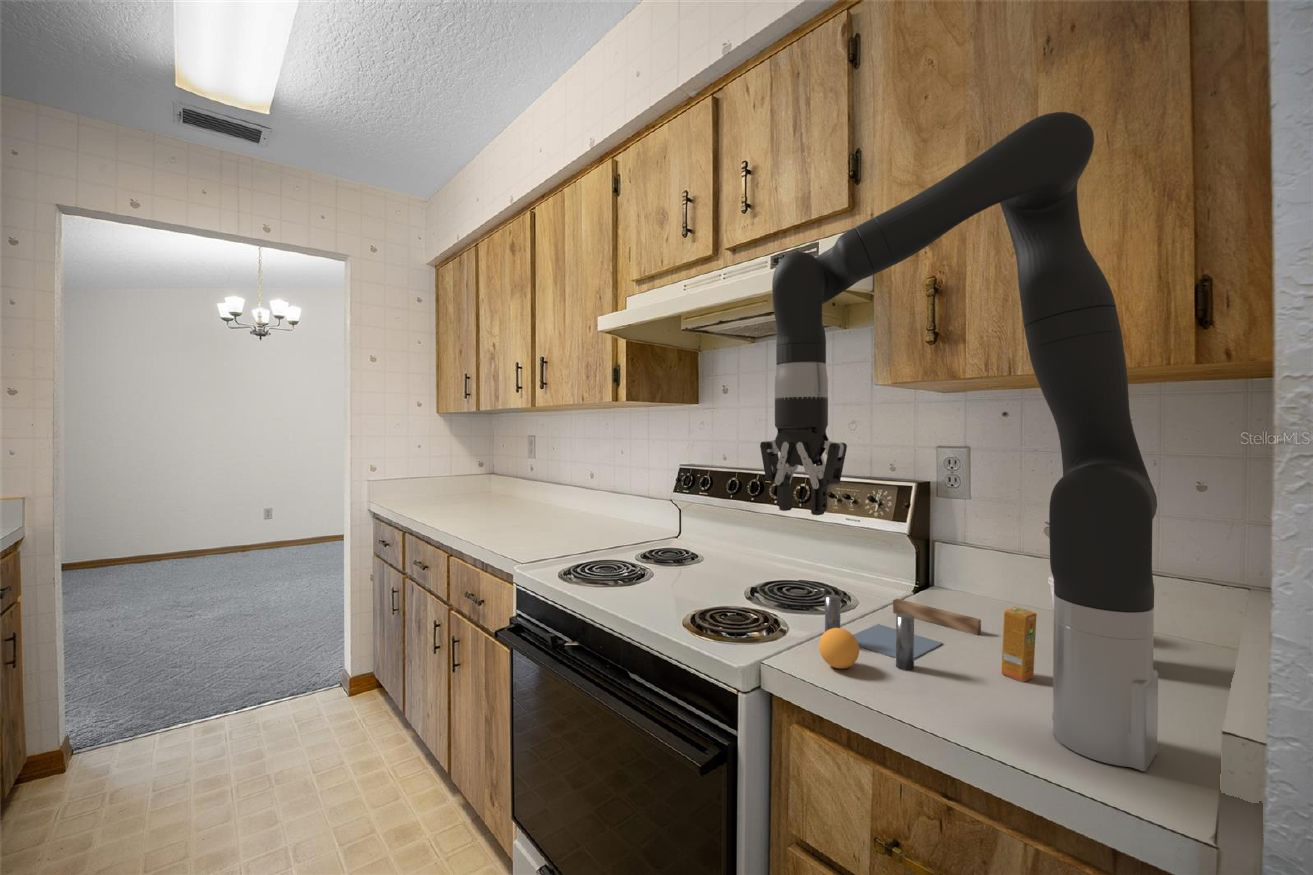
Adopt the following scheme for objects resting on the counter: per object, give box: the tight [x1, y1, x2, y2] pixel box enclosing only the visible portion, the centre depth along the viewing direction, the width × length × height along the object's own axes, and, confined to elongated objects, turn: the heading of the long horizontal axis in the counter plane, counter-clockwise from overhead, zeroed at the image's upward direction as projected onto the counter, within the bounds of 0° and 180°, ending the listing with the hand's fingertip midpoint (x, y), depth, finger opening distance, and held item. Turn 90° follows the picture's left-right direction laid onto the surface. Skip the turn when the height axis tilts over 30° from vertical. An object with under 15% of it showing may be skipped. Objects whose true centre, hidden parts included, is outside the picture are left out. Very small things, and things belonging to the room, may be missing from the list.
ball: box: [818, 627, 860, 670], centre depth 88 cm, size 6×6×6 cm
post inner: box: [895, 613, 915, 671], centre depth 88 cm, size 3×3×8 cm
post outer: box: [824, 594, 841, 633], centre depth 98 cm, size 3×3×8 cm
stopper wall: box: [892, 598, 982, 636], centre depth 108 cm, size 16×2×2 cm, turn 38°
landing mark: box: [852, 623, 944, 660], centre depth 98 cm, size 12×12×1 cm
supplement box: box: [1001, 606, 1038, 683], centre depth 85 cm, size 3×3×10 cm
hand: (801, 511), depth 82 cm, fingers open, 5 cm apart
